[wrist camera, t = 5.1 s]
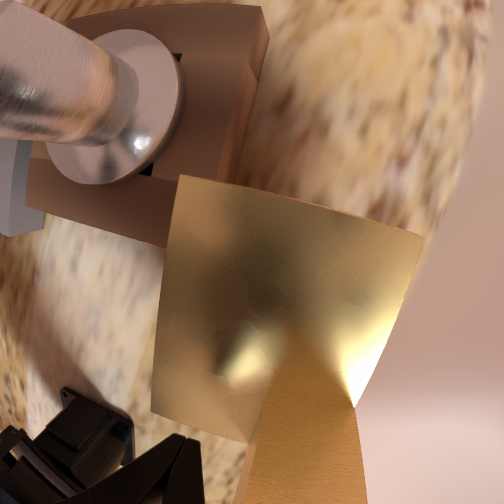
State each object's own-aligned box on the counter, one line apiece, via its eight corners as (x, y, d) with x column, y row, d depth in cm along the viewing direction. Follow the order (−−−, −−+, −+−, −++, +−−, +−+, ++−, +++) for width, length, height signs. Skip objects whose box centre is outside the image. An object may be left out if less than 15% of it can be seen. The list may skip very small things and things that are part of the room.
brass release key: (323, 441, 11) (319, 566, 5) (160, 397, 11) (88, 501, 6) (412, 232, 8) (540, 298, 3) (192, 175, 9) (47, 169, 3)
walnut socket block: (220, 242, 14) (199, 257, 11) (61, 201, 15) (24, 205, 12) (269, 38, 12) (260, 6, 9) (99, 37, 13) (69, 20, 10)
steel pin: (192, 194, 14) (9, 214, 4) (86, 175, 14) (-80, 182, 5) (223, 64, 12) (111, -78, 3) (113, 63, 13) (-27, -4, 3)
